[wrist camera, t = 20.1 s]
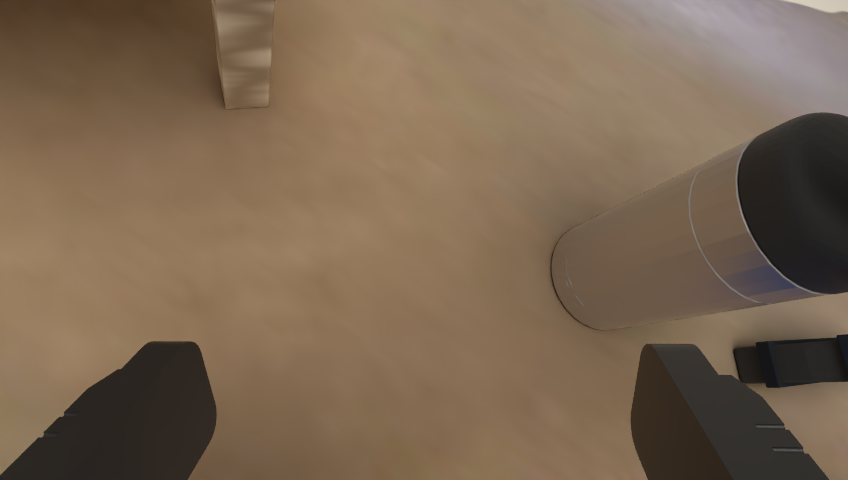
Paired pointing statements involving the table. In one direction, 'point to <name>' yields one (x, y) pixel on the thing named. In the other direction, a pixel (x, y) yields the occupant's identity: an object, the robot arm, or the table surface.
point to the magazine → (794, 362)
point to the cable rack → (244, 50)
